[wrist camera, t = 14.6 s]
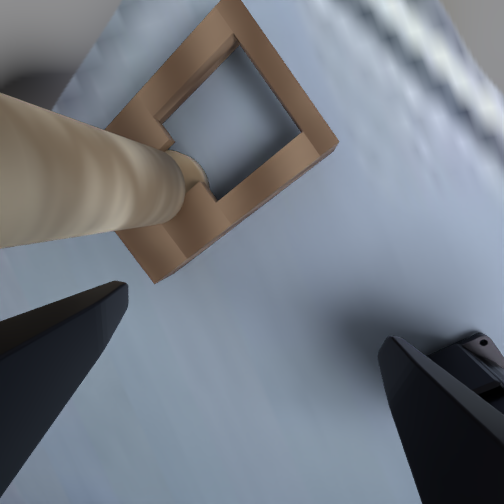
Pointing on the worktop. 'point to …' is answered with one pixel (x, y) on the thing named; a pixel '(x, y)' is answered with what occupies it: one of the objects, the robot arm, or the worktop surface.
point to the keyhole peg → (81, 178)
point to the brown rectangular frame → (156, 136)
